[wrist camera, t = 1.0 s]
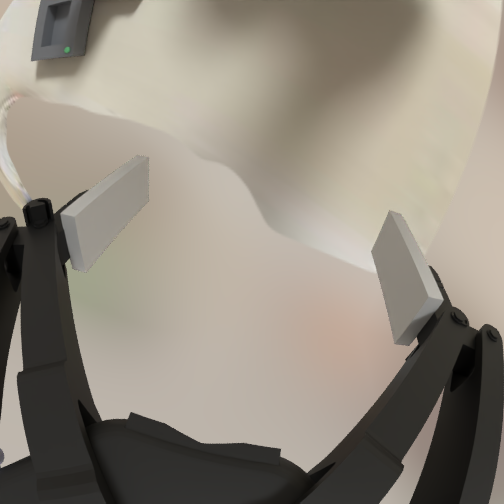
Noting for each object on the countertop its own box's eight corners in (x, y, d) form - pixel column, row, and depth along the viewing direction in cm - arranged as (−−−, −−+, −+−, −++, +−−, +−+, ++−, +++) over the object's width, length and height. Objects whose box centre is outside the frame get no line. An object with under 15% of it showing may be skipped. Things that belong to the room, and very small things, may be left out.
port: (53, -3, 25) (40, -4, 22) (97, -13, 25) (85, -16, 22) (42, 59, 32) (29, 61, 29) (84, 55, 32) (70, 56, 29)
